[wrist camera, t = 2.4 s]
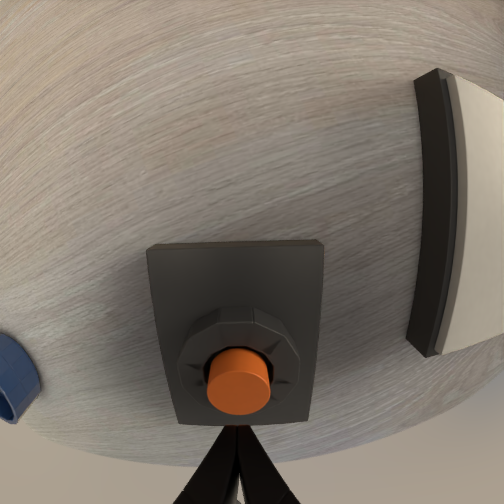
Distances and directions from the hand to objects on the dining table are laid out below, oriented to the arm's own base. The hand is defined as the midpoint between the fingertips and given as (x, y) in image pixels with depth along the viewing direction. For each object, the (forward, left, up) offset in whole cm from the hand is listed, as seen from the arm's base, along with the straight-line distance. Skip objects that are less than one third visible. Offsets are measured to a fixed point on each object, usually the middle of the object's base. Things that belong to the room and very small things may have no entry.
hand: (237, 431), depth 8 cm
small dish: (-4, +19, -6) cm, 20 cm away
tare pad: (0, 0, -6) cm, 6 cm away
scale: (+7, -18, -6) cm, 20 cm away
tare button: (0, 0, -4) cm, 4 cm away
